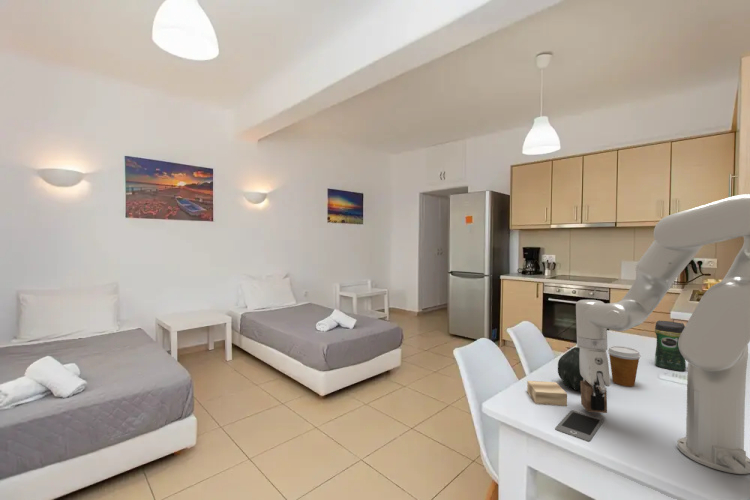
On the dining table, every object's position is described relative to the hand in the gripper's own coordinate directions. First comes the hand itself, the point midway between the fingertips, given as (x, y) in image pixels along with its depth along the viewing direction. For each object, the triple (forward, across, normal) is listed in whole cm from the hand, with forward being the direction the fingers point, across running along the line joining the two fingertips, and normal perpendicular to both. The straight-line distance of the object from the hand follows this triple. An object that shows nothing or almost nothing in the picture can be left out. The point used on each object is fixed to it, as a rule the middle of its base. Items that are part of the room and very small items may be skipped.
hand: (593, 405), depth 100 cm
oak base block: (+2, +8, +11) cm, 14 cm away
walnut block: (+1, 0, 0) cm, 1 cm away
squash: (+2, +20, -3) cm, 20 cm away
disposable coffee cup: (+3, +28, -19) cm, 34 cm away
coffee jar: (+3, +51, -45) cm, 68 cm away
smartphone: (+3, -8, +6) cm, 11 cm away
